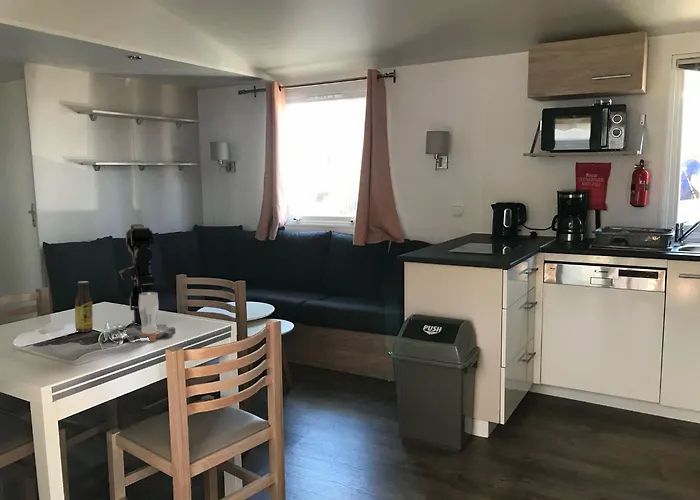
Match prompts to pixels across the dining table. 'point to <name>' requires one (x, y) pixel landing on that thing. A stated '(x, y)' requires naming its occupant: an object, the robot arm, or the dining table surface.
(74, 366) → the dining table surface
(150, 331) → the beer glass
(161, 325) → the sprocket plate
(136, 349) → the dining table surface
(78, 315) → the sauce bottle
